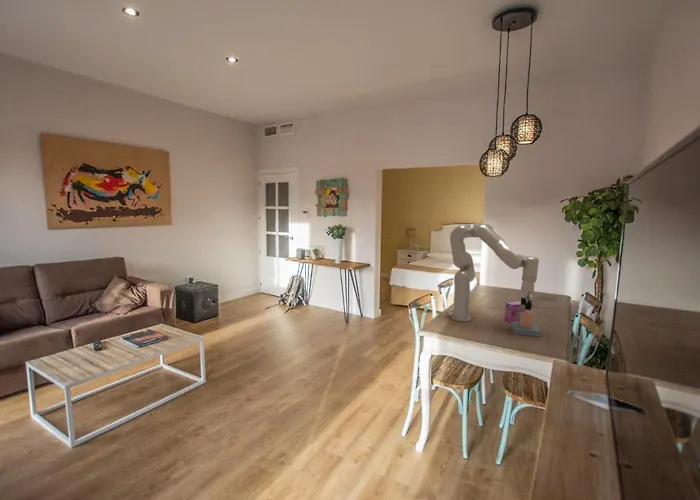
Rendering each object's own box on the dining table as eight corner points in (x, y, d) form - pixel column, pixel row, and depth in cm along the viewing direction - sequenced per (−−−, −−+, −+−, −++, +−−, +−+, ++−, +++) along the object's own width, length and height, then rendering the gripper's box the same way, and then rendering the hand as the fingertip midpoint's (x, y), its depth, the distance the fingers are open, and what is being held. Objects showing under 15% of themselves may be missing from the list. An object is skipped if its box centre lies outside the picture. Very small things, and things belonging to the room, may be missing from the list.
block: (521, 327, 208) (522, 313, 207) (519, 324, 213) (520, 311, 212) (530, 328, 207) (532, 314, 206) (528, 325, 212) (529, 312, 211)
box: (510, 323, 225) (511, 304, 224) (504, 320, 231) (505, 302, 229) (524, 321, 228) (525, 303, 226) (517, 319, 233) (519, 301, 232)
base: (515, 334, 205) (515, 329, 205) (510, 326, 219) (510, 321, 218) (540, 336, 202) (541, 331, 202) (533, 328, 216) (534, 323, 215)
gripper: (518, 274, 216) (515, 302, 218) (525, 280, 199) (522, 310, 201) (532, 275, 214) (528, 303, 217) (540, 282, 197) (536, 312, 200)
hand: (525, 307), depth 209 cm, fingers open, 9 cm apart
